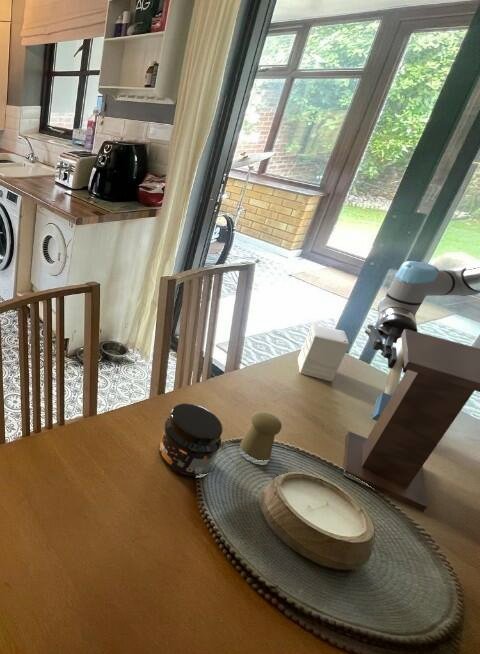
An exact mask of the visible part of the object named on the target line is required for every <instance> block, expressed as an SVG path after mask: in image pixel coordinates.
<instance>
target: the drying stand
mask: <svg viewBox="0 0 480 654" xmlns="http://www.w3.org/2000/svg"><path fill="white" fill-rule="evenodd" d="M401 338H402V349H403V360H404V369H407V371H406V373H404V374H403V376H402V377H401V378H400V379H401V380H399V384H398V386H397V388H396V390H395V391H394V393H393V395H392V397H391V398H390V400H389V402H388V404H387V405H386V407H385V409H384V410H383V412H382V414H381V416H380V417H379V419H378V421H376V422H375V424H374V425H373V428H372V429H371V431H370V433H369V434H368V436H367V437H365V436H362V435H360V434H357V433H355V432H352V431H350V430H348V431H347V433H346V435H345V444H344V456H343V466H342V469H343V468H344V470H345V472H346V473H349V474H351V475H353V476H355V477H356V478H358V479H360V480H361V481H363V482H365V483H367V484H368V485H369V486H371V487H372V488H374V489H375V490H376V492H378V493H380V494H382V495H384V496H386V497H388V498H391V499H393V500H395V501H398V502H400V503H402V504H404V505H406V506H409V507H411V508H413V509H415V510H418V512H422V513H425V511H426V510H427V509H428V501H427V491H426V483H425V474H424V464H425V463H426V461H428V459H429V457H430V456H431V454H432V453H433V451H434V450H435V449H436V447H437V446H438V445H439V443H440V441H441V440H442V438H444V435H445V434H446V433H447V431H448V430H449V428H450V427H451V426H452V424H453V422H454V421H455V420H456V418H457V417H458V415H459V414H460V412H461V411H462V409H463V408H464V407H465V405H466V404H467V403H468V401H469V400H470V398H471V397H472V395H473V393H474V392H475V391H476V392H479V393H480V348H479V347H475V346H473V345H472V346H471V345H467V344H464V343H460V342H456V341H453V340H449V339H446V338H441V337H437V336H434V335H430V334H427V333H423V332H419V331H418V332H415V331H412V330H408V329H404V331H403V333H402V335H401ZM375 490H374V491H375Z"/></svg>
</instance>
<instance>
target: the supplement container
mask: <svg viewBox="0 0 480 654" xmlns="http://www.w3.org/2000/svg"><path fill="white" fill-rule="evenodd" d="M223 429H224V428H223V424H222V422H221V420H220V419H219V418H218V417H217V416H216V414H214V413H213V412H212V411H210V410H208V409H207V408H206V407H203V406H200V405H197V404H194V403H179V404H177V405H175V406H173V407H172V409H171V411H170V414H169V415H168V416H167V418H166V420H165V422H164V428H163V432H162V436H161V439H160V443H159V445H158V454H159V457H160V459H161V461H162V463H163V464H164V465H165V464H166V465H167V466H168V467H169V468H170V469H169V468H168V467H167V466H166V465H165V466H166V467H167V468H168V469H169V470H170V471H172V470H173V471H174V472H173V471H172V472H173V473H175V472H176V473H175V474H176V475H178V476H181V475H182V476H181V477H183V476H184V478H186V477H187V478H186V479H191V478H192V480H193V479H194V480H196V479H195V477H196V475H199V474H207V473H209V472H210V471H211V472H212V470H211V469H213V465H214V462H215V460H216V457H217V454H218V451H219V450H220V449H221V446H222V438H221V436H222V434H223V431H224V430H223ZM211 472H210V473H211ZM210 473H209V474H210Z"/></svg>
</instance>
